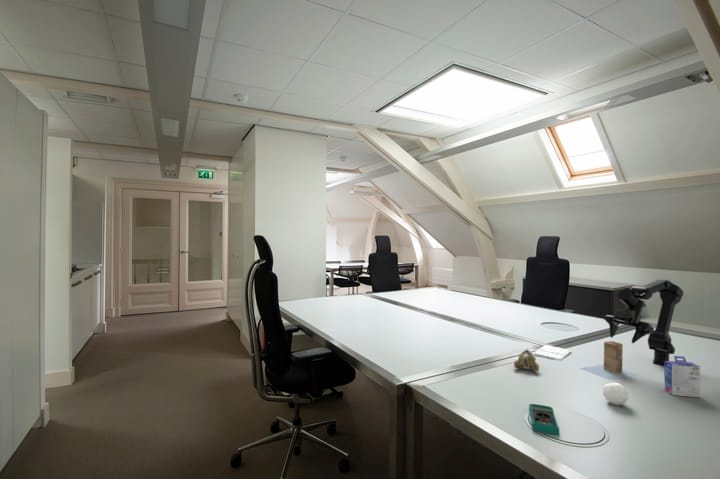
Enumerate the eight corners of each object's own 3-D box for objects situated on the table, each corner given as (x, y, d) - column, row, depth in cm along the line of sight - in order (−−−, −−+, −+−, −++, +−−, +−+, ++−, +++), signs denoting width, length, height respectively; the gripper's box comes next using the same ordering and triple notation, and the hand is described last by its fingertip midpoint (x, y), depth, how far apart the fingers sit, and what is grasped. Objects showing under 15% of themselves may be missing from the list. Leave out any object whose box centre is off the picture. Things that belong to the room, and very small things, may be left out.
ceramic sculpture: (539, 347, 170) (539, 358, 157) (539, 364, 171) (539, 377, 157) (515, 344, 175) (513, 354, 162) (515, 361, 176) (513, 373, 162)
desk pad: (607, 364, 172) (607, 364, 172) (637, 375, 158) (637, 374, 158) (580, 368, 166) (580, 368, 166) (609, 380, 153) (609, 379, 153)
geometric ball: (609, 408, 133) (603, 386, 138) (634, 406, 128) (627, 384, 133) (603, 403, 129) (597, 380, 134) (629, 401, 124) (621, 378, 129)
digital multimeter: (532, 432, 112) (532, 422, 112) (528, 410, 126) (528, 401, 126) (559, 437, 109) (559, 428, 109) (552, 414, 123) (552, 405, 123)
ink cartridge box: (691, 391, 142) (691, 356, 142) (701, 398, 136) (701, 361, 136) (662, 389, 144) (663, 354, 144) (672, 395, 138) (672, 359, 138)
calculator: (571, 353, 190) (571, 349, 190) (560, 362, 176) (560, 358, 176) (545, 347, 200) (545, 344, 200) (532, 355, 186) (532, 352, 185)
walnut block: (611, 368, 166) (611, 340, 166) (622, 372, 161) (622, 344, 161) (603, 369, 165) (604, 341, 164) (614, 373, 160) (614, 344, 160)
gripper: (603, 298, 171) (591, 327, 168) (647, 305, 154) (634, 337, 151) (616, 309, 175) (604, 337, 172) (659, 317, 158) (647, 348, 155)
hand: (621, 340), depth 162 cm, fingers open, 9 cm apart
